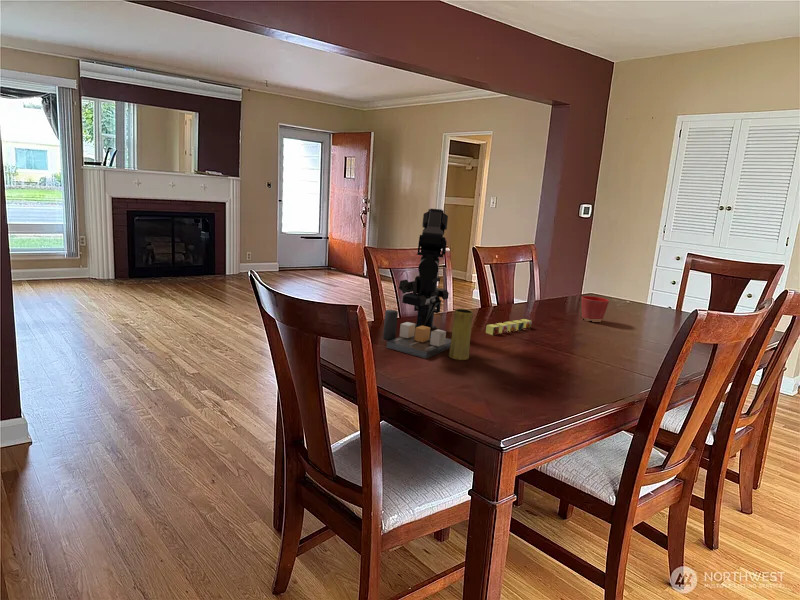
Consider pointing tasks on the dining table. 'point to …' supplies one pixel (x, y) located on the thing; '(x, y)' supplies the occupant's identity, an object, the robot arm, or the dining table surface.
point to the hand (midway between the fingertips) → (423, 323)
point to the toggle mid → (422, 333)
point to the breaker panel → (417, 346)
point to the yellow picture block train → (507, 326)
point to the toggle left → (407, 330)
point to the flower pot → (594, 307)
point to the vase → (461, 334)
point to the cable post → (390, 324)
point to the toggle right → (438, 337)
